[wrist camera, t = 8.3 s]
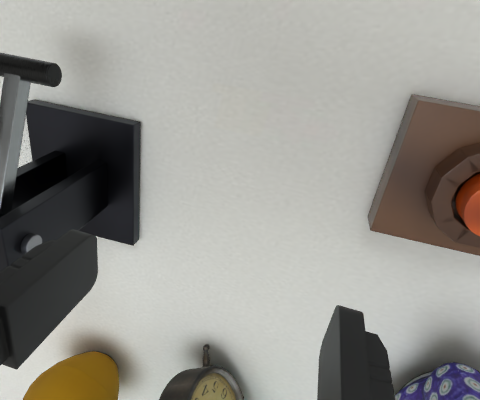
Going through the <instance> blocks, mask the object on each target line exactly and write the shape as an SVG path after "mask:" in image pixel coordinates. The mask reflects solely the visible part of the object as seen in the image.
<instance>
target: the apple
mask: <svg viewBox="0 0 480 400" xmlns="http://www.w3.org/2000/svg"><path fill="white" fill-rule="evenodd" d="M118 392H119V374H118V368H117V366H116V364H115V362H114V361H113V359H112V358H111V357H109V356H108V355H106V354H103V353H100V352H95V351H92V352H86V353H82V354H78V355H75V356H72V357H70V358H68V359H65V360H63V361H61V362H58V363H57V364H55V365H54V366H52V367H51V368H49V369H48V370H46V371H45V372H43V373H42V374H41V375H40V376H39V377H38V378H37V379H36V380H35V381H34V382H33V383H32V384H31V385H30V387H29V389H28V391H27V392H26V394H25V396H24V398H23V400H118Z"/></svg>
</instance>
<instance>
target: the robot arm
mask: <svg viewBox="0 0 480 400" xmlns="http://www.w3.org/2000/svg"><path fill="white" fill-rule="evenodd" d="M97 273H98V263H97V238H96V236H94V235H92V234H88V233H85V232H81V231H78V230H74V229H72V230H69V231H68V232H67V233H65V234H64V235H63V236H61V237H60V238H59V239H57V240H50V241H47V242H45V243H42V244H40V245H37V246H35V247H34V248H32V249H31V250H30V251H28V252H27V253H25V254H24V255H23V256H22V258H19V259H17V260H16V261H15V262H13V263H12V264H11V266H8V267H6V268H5V269H4V270H2V271H1V272H0V365H1V364H3V365H6V366H8V367H11V368H14V369H18V368H19V367H20V365H21V364H22V363H23V362H24V361H25V360H26V359H27V358H28V357H29V356H30V355H31V354H32V353H33V351H34V350H35V349H36V348H37V347H38V346H39V345H40V344H41V343H42V342H43V341H44V340H45V338H46V337H47V336H48V335H49V334H50V333H51V332H52V331H53V330H54V329H55V328H56V327H57V326H58V324H59V323H60V322H61V321H62V320H63V319H64V318H65V317H66V316H67V315H68V314H69V313H70V311H71V310H72V309H73V308H74V307H75V306H76V305H77V304H78V303H79V302H80V301H81V300H82V299H83V297H84V296H85V295H86V294H87V293H88V292H89V291H90V290H91V288H92V287H93V285H94V283H95V281H96V278H97ZM389 368H390V366H389V360H388V354H387V350H386V349H385V347H384V345H383V343H382V342H381V340H380V338H379V337H378V335H376V334H373V333H370V332H366V331H365V325H364V316H363V313H362V312H360V311H357V310H353V309H350V308H346V307H343V306H339V305H337V306H336V308H335V310H334V313H333V315H332V318H331V321H330V323H329V326H328V328H327V331H326V334H325V336H324V339H323V342H322V346H321V350H320V356H319V373H318V398H317V400H395V396H394V390H393V385H392V378H391V372H390V370H389Z"/></svg>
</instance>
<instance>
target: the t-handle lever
mask: <svg viewBox="0 0 480 400" xmlns="http://www.w3.org/2000/svg"><path fill="white" fill-rule="evenodd" d="M0 76H2V77H4V81H3V88H2V95H1V102H0V218H1V217H2V216H4V215H6V214H7V213H9V212H11V209H12V202H13V196H14V189H15V183H16V176H17V169H18V163H19V156H20V150H21V143H22V136H23V130H24V123H25V117H26V110H27V104H28V97H29V90H30V84H31V83H36V84H41V85H46V86H50V87H56V86H58V85H59V84H60V82H61V78H62V73H61V69H60V67H59V66H58V65H57V64H55V63H51V62H45V61H40V60H35V59H30V58H25V57H20V56H15V55H10V54H4V53H0Z"/></svg>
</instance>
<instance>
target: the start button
mask: <svg viewBox="0 0 480 400" xmlns="http://www.w3.org/2000/svg"><path fill="white" fill-rule="evenodd" d="M455 204H456V209H457V212H458V214H459V215H460V217H461V218H462V220H463V221H464V223H465V224H466V226H467V227H468V229H469V230H470V231H472V232H473V233H474V234H476V235H478V236H480V174H478V175H476V176H474V177H472V178H471V179H469V180H468V181H467V182H466V183H465V184H464V185H463V186H462V187H461V188H460V190H459V192H458V194H457V196H456V203H455Z"/></svg>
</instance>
